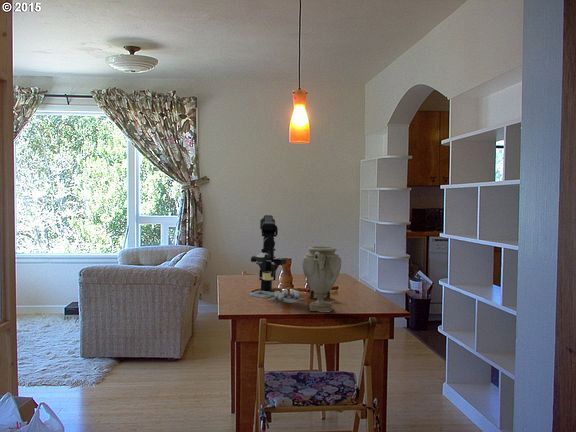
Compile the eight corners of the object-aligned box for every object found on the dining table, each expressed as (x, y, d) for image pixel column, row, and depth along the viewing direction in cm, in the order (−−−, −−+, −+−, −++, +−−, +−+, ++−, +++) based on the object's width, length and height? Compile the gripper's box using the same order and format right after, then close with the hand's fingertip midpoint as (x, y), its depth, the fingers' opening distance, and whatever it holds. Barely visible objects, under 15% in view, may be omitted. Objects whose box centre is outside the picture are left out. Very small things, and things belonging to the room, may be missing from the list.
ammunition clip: (328, 299, 293) (329, 276, 292) (330, 299, 291) (330, 276, 291) (309, 299, 291) (309, 276, 290) (310, 300, 289) (310, 277, 288)
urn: (300, 304, 279) (302, 244, 277) (337, 304, 279) (339, 244, 277) (301, 315, 255) (303, 249, 253) (342, 316, 255) (344, 250, 253)
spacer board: (282, 296, 296) (282, 295, 296) (305, 300, 288) (305, 298, 288) (267, 301, 284) (267, 299, 284) (290, 304, 277) (290, 303, 277)
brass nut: (266, 277, 296) (267, 271, 296) (274, 279, 294) (275, 272, 293) (260, 279, 291) (260, 272, 291) (268, 280, 289) (269, 273, 288)
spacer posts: (285, 295, 295) (286, 288, 295) (301, 298, 289) (302, 290, 289) (271, 299, 283) (271, 292, 283) (287, 302, 278) (287, 294, 278)
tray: (260, 294, 301) (260, 290, 301) (275, 296, 296) (275, 292, 296) (249, 297, 293) (249, 293, 293) (265, 299, 288) (265, 295, 287)
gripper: (244, 246, 289) (244, 276, 290) (275, 250, 280) (274, 281, 281) (257, 244, 299) (256, 273, 300) (287, 247, 289) (286, 277, 290)
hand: (267, 276), depth 292 cm, fingers closed on brass nut, 5 cm apart
